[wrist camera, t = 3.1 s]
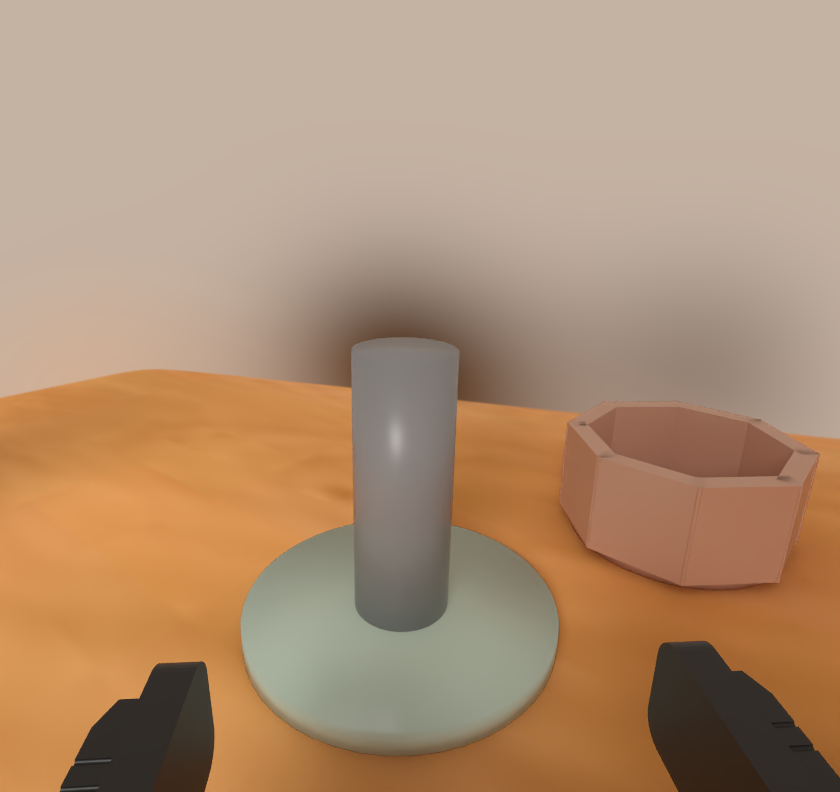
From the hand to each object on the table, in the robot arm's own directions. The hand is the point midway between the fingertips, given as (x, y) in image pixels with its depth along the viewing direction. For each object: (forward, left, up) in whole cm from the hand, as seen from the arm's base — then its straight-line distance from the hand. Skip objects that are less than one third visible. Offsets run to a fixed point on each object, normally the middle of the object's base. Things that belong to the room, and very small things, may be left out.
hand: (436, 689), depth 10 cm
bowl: (+14, +17, -8) cm, 23 cm away
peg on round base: (0, +11, -8) cm, 13 cm away
